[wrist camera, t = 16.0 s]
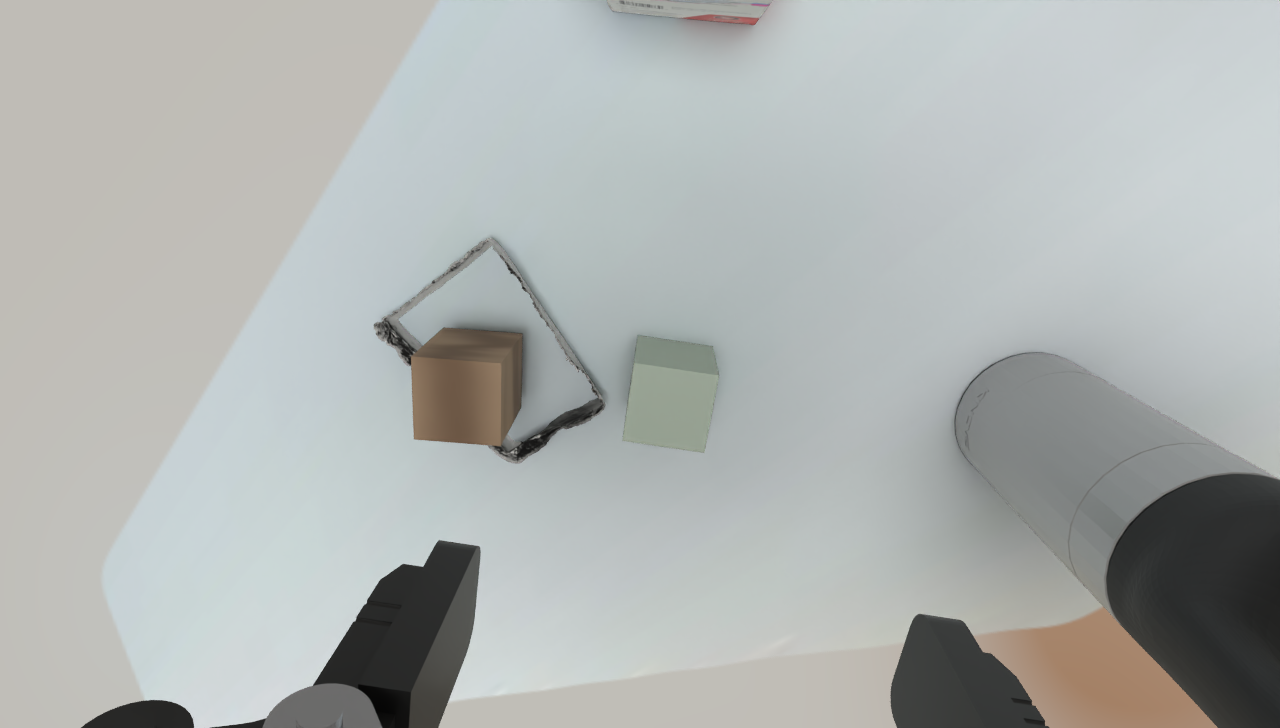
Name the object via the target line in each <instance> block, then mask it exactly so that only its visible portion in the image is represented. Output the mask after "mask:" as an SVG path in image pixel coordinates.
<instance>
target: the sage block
mask: <svg viewBox="0 0 1280 728" xmlns="http://www.w3.org/2000/svg"><path fill="white" fill-rule="evenodd" d="M718 379H719V372H718V368H717V364H716V359H715V355H714V351H713V346H707V345H700V344H693V343H687V342H680V341H673V340H667V339H660V338H654V337H647V336H640V335H638V337H637V344H636V350H635V357H634V364H633V370H632V377H631V383H630V390H629V397H628V403H627V410H626V418H625V425H624V433H623V440H622V441H627V442H634V443H641V444H647V445H654V446H661V447H668V448H674V449H681V450H688V451H695V452H701V453H704V452H705V447H706V441H707V436H708V431H709V426H710V421H711V416H712V410H713V405H714V400H715V395H716V390H717V385H718Z"/></svg>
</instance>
